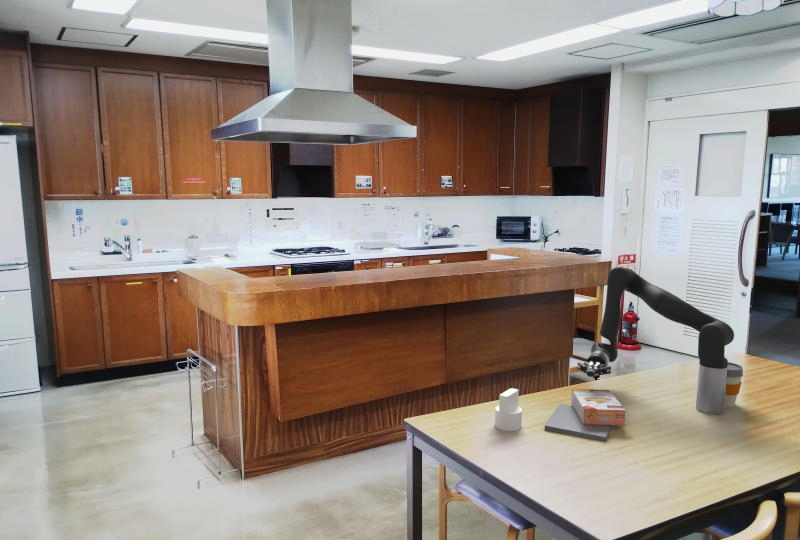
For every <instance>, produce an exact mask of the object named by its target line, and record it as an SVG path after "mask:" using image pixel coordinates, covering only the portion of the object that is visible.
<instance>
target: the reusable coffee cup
mask: <svg viewBox="0 0 800 540" xmlns="http://www.w3.org/2000/svg"><path fill="white" fill-rule="evenodd" d="M743 376H744V367H743V366H742V365H739V364H737V363H734V362H730V361H728V367H727V378H726V395H725V406H724V408H734V407H735V404H736V401H737V396H738V395H739V394H740V390H741V385H742V381H741V380H742V378H743Z"/></svg>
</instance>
